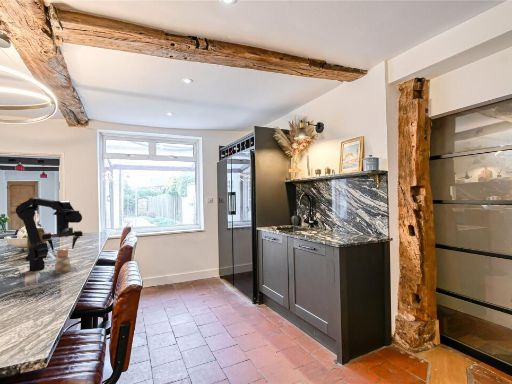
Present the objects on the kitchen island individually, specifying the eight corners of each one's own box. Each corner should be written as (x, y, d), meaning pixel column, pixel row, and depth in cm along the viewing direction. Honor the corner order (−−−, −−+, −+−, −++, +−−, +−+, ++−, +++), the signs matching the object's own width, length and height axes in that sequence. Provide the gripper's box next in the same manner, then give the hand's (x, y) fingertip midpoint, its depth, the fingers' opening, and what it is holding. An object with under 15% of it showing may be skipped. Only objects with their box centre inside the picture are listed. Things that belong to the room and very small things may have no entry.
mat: (49, 276, 152) (49, 275, 152) (48, 271, 162) (48, 270, 162) (77, 271, 160) (77, 271, 160) (75, 267, 170) (75, 266, 170)
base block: (55, 273, 156) (55, 265, 156) (55, 270, 161) (55, 263, 161) (70, 270, 160) (70, 263, 160) (69, 268, 166) (69, 261, 166)
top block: (56, 265, 157) (56, 258, 157) (56, 263, 161) (56, 256, 161) (69, 263, 160) (69, 256, 160) (68, 261, 165) (68, 254, 165)
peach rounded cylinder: (57, 258, 157) (57, 250, 157) (56, 256, 161) (56, 249, 161) (68, 256, 160) (68, 249, 160) (67, 255, 164) (67, 248, 164)
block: (26, 257, 197) (26, 229, 197) (28, 255, 204) (27, 228, 204) (46, 255, 203) (45, 227, 203) (46, 253, 210) (46, 226, 210)
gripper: (42, 225, 149) (42, 254, 149) (83, 222, 160) (83, 250, 160) (42, 223, 158) (42, 251, 158) (81, 221, 169) (81, 247, 169)
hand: (63, 250), depth 161 cm, fingers open, 9 cm apart
